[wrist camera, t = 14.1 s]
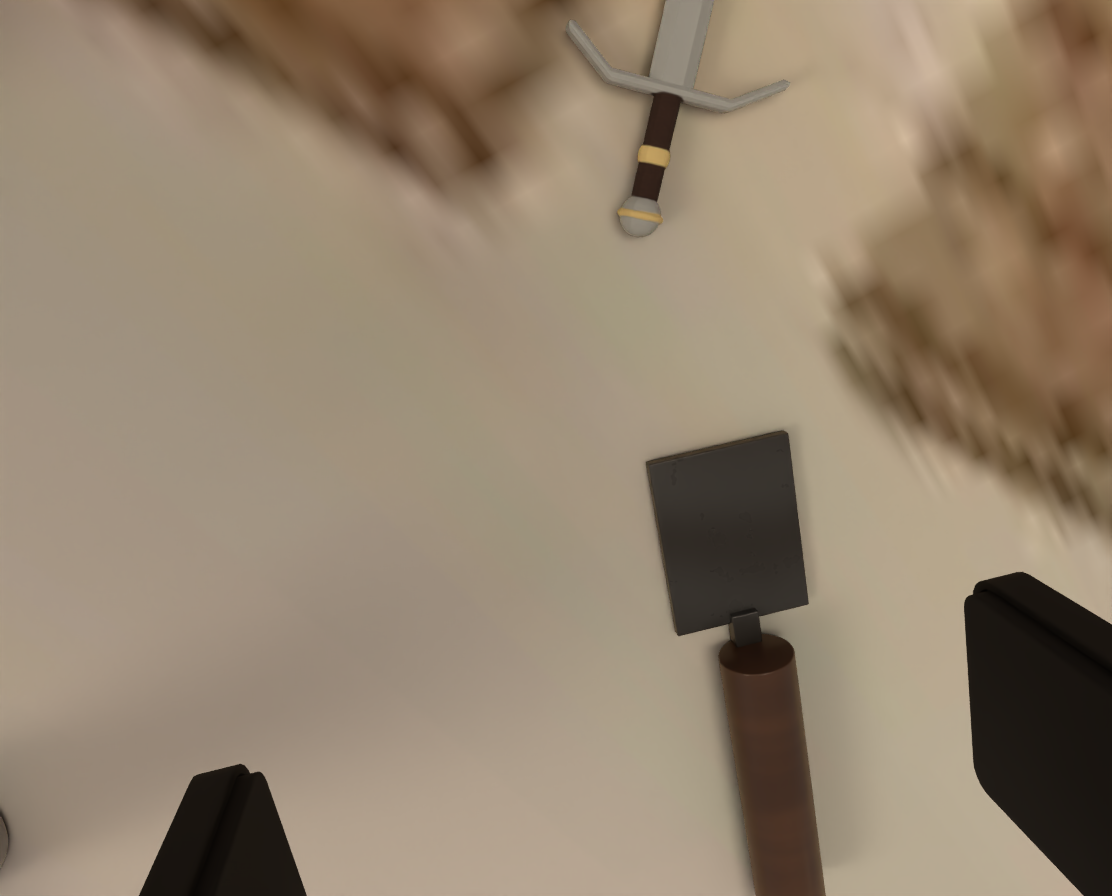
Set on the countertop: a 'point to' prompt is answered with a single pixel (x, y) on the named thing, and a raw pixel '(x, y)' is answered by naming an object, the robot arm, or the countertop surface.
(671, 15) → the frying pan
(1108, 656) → the robot arm
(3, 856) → the lotion bottle
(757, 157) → the countertop surface
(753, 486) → the spatula
